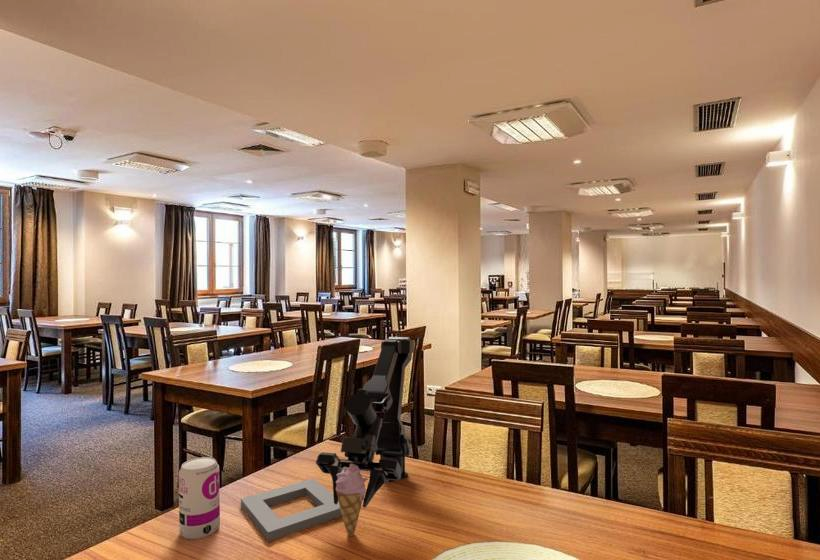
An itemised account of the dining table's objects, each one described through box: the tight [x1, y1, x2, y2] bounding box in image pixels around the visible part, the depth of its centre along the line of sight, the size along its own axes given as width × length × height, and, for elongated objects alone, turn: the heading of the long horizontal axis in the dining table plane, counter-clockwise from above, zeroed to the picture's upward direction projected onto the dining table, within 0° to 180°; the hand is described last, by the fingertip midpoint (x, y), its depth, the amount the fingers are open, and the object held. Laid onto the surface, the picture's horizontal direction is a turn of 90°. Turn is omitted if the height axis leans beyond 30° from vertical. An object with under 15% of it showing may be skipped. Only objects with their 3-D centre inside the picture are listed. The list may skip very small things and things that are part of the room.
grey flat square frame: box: [240, 478, 342, 542], centre depth 115 cm, size 19×19×2 cm
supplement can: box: [178, 456, 221, 540], centre depth 106 cm, size 8×8×15 cm
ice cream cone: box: [336, 463, 369, 537], centre depth 104 cm, size 7×6×15 cm
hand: (349, 505), depth 102 cm, fingers closed on ice cream cone, 6 cm apart
